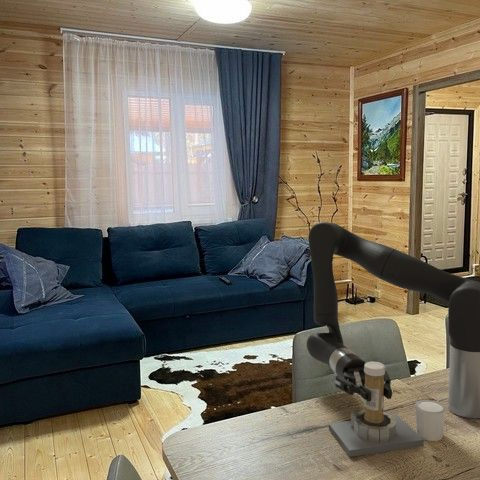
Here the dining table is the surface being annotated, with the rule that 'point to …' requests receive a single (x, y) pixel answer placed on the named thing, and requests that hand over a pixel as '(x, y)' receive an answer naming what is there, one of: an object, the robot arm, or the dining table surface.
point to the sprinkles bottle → (374, 391)
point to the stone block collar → (372, 432)
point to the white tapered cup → (430, 419)
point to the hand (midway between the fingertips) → (379, 396)
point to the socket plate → (362, 447)
